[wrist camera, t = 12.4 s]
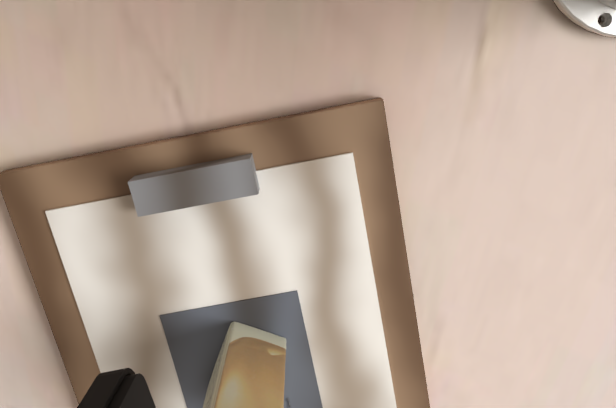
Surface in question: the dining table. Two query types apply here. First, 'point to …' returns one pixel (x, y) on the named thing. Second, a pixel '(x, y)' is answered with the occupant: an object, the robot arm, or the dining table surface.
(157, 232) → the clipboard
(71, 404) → the dining table surface
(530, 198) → the dining table surface
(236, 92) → the dining table surface
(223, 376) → the skincare box
